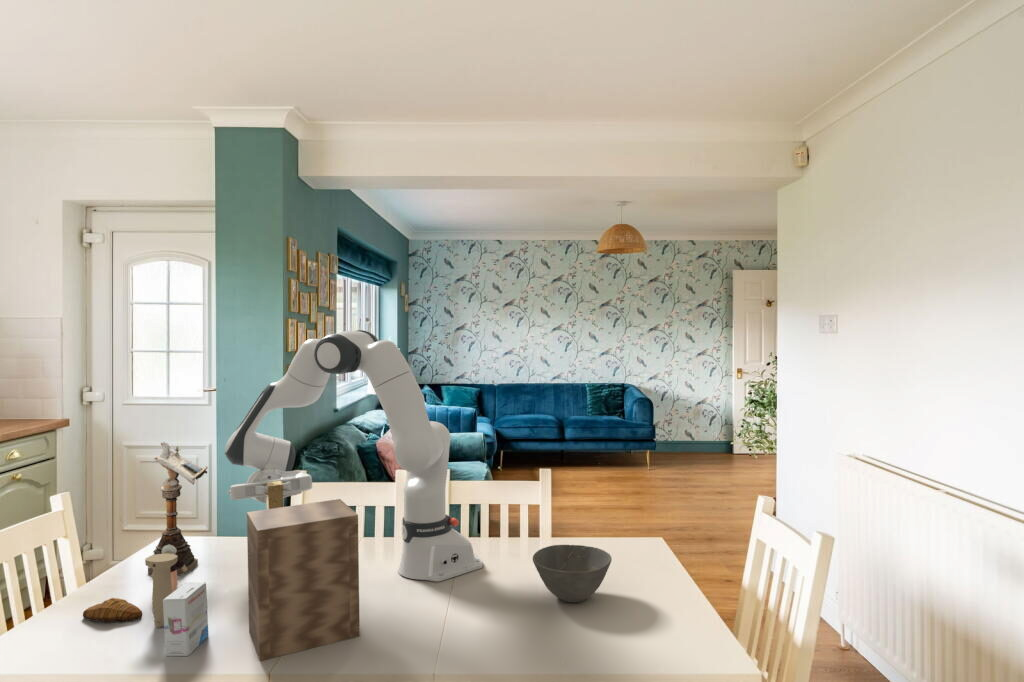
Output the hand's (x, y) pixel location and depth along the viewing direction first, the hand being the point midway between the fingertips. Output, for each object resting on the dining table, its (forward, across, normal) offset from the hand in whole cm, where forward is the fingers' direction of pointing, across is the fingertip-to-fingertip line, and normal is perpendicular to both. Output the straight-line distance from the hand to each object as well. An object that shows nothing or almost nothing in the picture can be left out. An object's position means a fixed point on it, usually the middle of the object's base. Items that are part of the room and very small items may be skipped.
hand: (275, 488), depth 165 cm
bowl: (+38, +60, +34) cm, 79 cm away
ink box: (+19, -22, +28) cm, 41 cm away
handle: (+6, -26, +26) cm, 37 cm away
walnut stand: (+25, 0, +30) cm, 39 cm away
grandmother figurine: (-10, -25, +23) cm, 35 cm away
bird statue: (-28, -21, +19) cm, 40 cm away
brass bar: (-6, 0, +10) cm, 12 cm away
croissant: (-3, -36, +24) cm, 44 cm away
